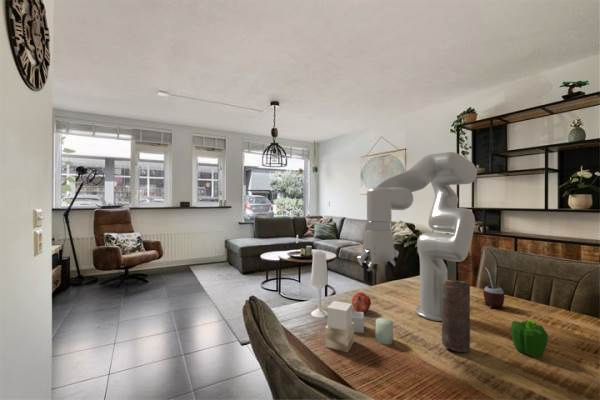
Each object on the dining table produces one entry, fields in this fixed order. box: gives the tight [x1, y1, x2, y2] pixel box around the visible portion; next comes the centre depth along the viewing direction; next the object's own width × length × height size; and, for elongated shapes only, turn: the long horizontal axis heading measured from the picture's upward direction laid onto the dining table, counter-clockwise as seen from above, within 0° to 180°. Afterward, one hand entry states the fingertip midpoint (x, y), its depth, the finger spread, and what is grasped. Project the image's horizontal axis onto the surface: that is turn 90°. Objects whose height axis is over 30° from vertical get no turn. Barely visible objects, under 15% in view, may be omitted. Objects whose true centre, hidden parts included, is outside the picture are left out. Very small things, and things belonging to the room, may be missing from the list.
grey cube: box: [352, 310, 365, 334], centre depth 96 cm, size 5×5×5 cm
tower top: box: [326, 300, 353, 331], centre depth 86 cm, size 6×6×6 cm
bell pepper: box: [510, 319, 549, 358], centre depth 81 cm, size 8×8×10 cm
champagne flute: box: [310, 250, 329, 318], centre depth 108 cm, size 7×7×24 cm
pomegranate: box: [351, 292, 372, 313], centre depth 111 cm, size 7×7×10 cm
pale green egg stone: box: [375, 317, 394, 346], centre depth 88 cm, size 5×5×6 cm
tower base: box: [324, 322, 355, 353], centre depth 86 cm, size 7×7×6 cm
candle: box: [441, 279, 471, 353], centre depth 83 cm, size 8×7×20 cm
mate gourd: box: [483, 267, 506, 310], centre depth 115 cm, size 8×8×15 cm
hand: (379, 280), depth 88 cm, fingers open, 9 cm apart
